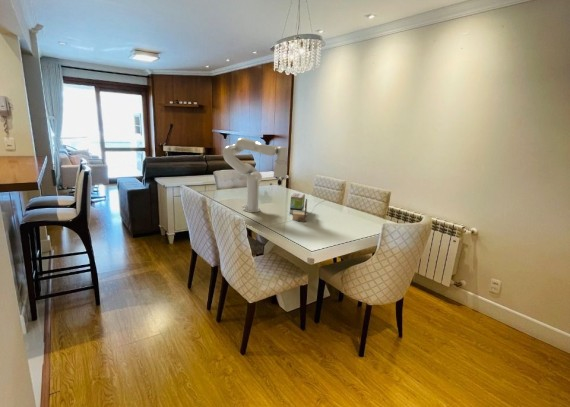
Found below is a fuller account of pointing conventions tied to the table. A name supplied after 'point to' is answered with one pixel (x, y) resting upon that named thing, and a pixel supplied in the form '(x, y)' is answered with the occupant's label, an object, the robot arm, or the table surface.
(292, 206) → the tea box
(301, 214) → the carton
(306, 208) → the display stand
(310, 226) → the table surface
